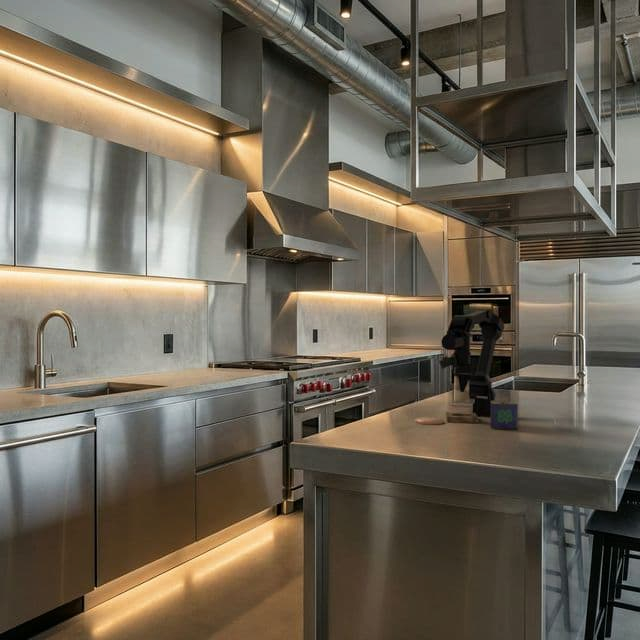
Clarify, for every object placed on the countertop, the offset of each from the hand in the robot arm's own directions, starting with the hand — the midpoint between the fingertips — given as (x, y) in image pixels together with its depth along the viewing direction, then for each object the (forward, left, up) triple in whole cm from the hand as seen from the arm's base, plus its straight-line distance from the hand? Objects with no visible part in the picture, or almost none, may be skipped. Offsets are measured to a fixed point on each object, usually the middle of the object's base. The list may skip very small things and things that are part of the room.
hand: (461, 391), depth 231 cm
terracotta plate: (+12, +7, -11) cm, 18 cm away
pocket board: (0, 0, -11) cm, 11 cm away
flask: (-13, +16, -11) cm, 23 cm away
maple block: (0, 0, -4) cm, 4 cm away
